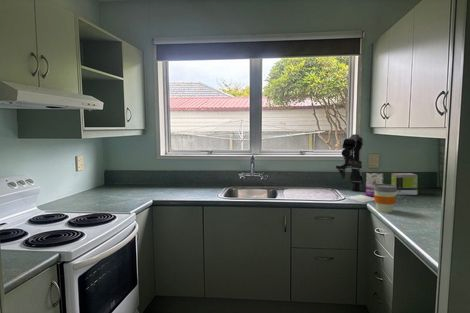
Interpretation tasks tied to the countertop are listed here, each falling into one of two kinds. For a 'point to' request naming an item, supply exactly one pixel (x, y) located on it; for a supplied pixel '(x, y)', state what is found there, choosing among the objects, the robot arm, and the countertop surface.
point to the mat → (361, 198)
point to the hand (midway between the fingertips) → (348, 178)
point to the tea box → (405, 183)
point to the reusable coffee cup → (385, 197)
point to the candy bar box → (372, 182)
